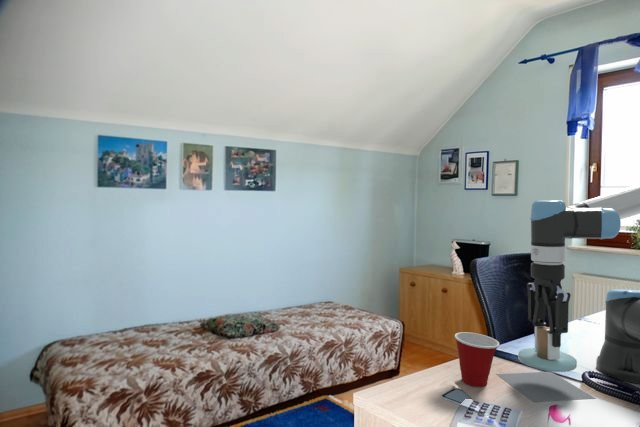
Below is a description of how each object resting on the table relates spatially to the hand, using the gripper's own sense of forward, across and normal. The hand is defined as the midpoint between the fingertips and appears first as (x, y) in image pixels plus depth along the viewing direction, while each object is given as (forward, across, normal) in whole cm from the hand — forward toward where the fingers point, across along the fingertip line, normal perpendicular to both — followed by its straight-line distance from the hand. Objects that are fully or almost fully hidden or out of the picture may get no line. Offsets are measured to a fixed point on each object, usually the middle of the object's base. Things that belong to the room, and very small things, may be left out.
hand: (546, 355), depth 110 cm
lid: (+2, 0, 0) cm, 2 cm away
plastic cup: (+8, -4, -17) cm, 19 cm away
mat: (+8, 0, -1) cm, 8 cm away
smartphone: (+8, +6, -22) cm, 24 cm away
